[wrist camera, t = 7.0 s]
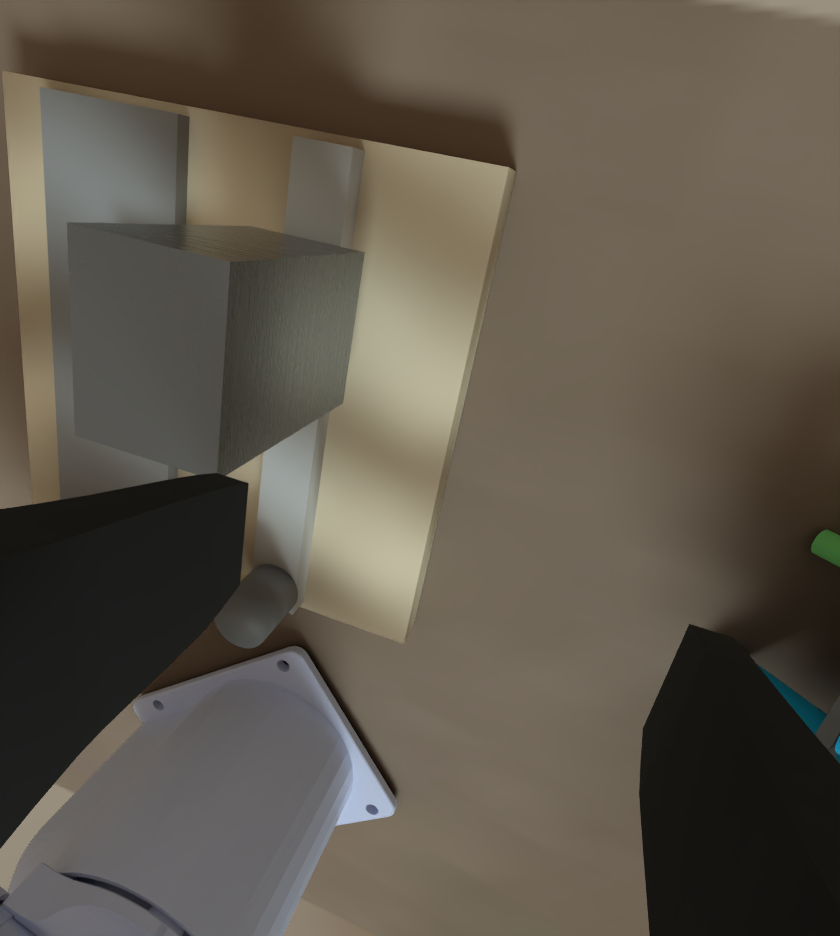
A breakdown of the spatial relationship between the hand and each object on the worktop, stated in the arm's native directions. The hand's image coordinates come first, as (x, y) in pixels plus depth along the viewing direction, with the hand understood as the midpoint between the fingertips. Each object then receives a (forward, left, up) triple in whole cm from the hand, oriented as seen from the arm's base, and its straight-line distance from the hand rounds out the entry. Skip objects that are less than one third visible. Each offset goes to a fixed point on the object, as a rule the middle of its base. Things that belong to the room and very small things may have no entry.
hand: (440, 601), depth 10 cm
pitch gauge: (-8, +6, -9) cm, 13 cm away
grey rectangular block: (-5, +7, -7) cm, 11 cm away
